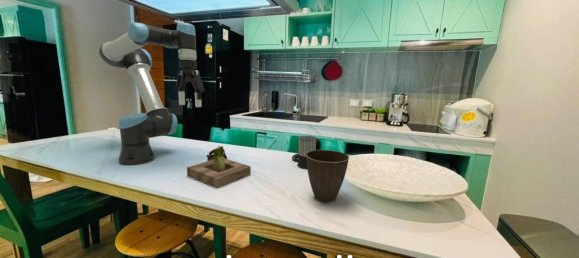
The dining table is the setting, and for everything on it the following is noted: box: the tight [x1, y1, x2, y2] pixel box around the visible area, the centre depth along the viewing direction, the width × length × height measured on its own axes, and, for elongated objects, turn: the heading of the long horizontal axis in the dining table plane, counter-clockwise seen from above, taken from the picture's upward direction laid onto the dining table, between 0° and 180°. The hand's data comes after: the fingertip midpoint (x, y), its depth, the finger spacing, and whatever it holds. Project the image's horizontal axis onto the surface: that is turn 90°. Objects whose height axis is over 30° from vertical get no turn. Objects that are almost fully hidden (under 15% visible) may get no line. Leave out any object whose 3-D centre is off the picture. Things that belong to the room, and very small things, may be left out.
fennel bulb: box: [212, 145, 225, 172], centre depth 100 cm, size 6×5×12 cm
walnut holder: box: [186, 158, 252, 189], centre depth 101 cm, size 20×18×4 cm
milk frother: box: [291, 135, 322, 170], centre depth 118 cm, size 14×16×15 cm
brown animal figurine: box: [206, 147, 228, 161], centre depth 119 cm, size 12×10×8 cm
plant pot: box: [306, 149, 350, 204], centre depth 82 cm, size 15×15×16 cm
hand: (190, 105), depth 110 cm, fingers open, 13 cm apart
